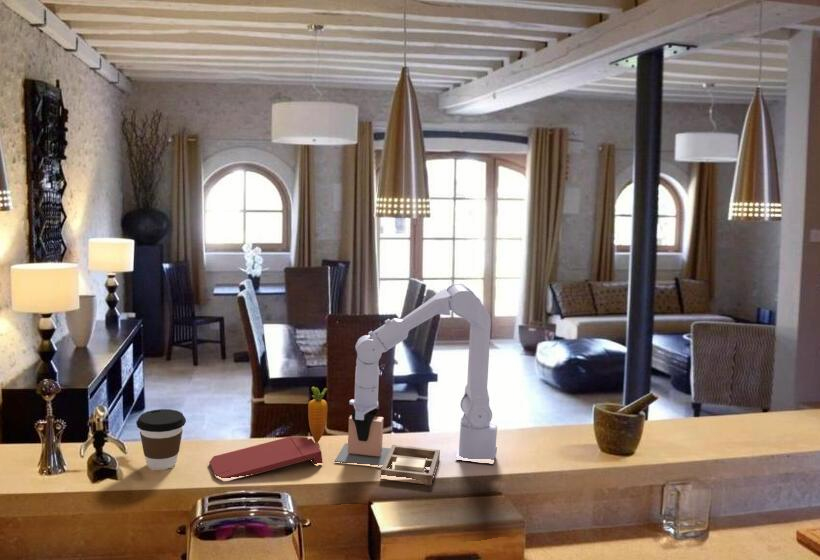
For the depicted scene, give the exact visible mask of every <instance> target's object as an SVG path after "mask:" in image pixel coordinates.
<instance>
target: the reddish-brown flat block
mask: <svg viewBox="0 0 820 560" xmlns="http://www.w3.org/2000/svg"><path fill="white" fill-rule="evenodd" d="M322 454H323V453H322V450H321V449H320V448H319V446H318V445H317V444H316V442H315V440H314V439H312V438H308V437H307V436H287V437H284V438H280V439H276V440H272V441H268V442H267V441H266V442H264V443H260V444H256V445H252V446H249V447H245V448H241V449H237V450H233V451H229V452H225V453H221V454H218V455H214V456H213V457H212V458H211V459H210V461H209V466H210V469H211V471H212V470H213V471H212V472H214V473H213V475H214V474H215V475H216V476H219V477H221V478H231V477H239V476H246V475H251V474H254V475H257V474H256V473H258V474H261V473H265V472H269V471H273V470H276V469H280V468H283V467H287V466H291V465H295V464H299V463H301V462H302V463H303V462H305V461H311V460H312V462H313V463H314V464H317V463H323V464H324V462H323V456H322ZM310 459H311V460H310ZM312 462H311V463H312ZM313 463H312V464H313ZM314 464H313V465H314ZM251 476H252V475H251Z"/></svg>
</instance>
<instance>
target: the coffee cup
mask: <svg viewBox="0 0 820 560" xmlns="http://www.w3.org/2000/svg"><path fill="white" fill-rule="evenodd" d="M186 423H187V419H186V418H185V416H184V414H183V412H181V411H179V410H176V409H171V408H169V409H167V408H160V409H152V410H149V411H145V412H143V413H141V414H140V415H139V417H138V418H137V420H136V422H135V425H136V427H137V428H138V429H139V430H140V431H139V435H140V440H141V445H142V452H143V455H144V458H145V463H146V466H147V467H148V468H149V469H150V470H151V469H153V470H152V471H156V470H162V471H165V470H164V469H168V468H171V467H172V468H174V467H175V466H176V463H177V461H178V455H179V452H180V448H181V442H182V436H183V427H184V426H185V424H186ZM173 466H174V467H173ZM172 468H171V469H172ZM168 470H169V469H168Z"/></svg>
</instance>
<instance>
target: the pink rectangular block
mask: <svg viewBox="0 0 820 560" xmlns="http://www.w3.org/2000/svg"><path fill="white" fill-rule="evenodd" d="M384 419H385V418H384V417H383V416H375V417H374V419H373V421H372V423H371V426H370V431H369V436H368V439H367V441H359V440H358V436H357V430H356V426H355V423H354V421H353V419H352V417H351V415H349V417H348V431H347V436H348V437H347V444H348V453H353V454H362V455H370V456H379V457H380V455H381V452H382V448H383V437H384V436H383V435H384Z"/></svg>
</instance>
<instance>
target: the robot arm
mask: <svg viewBox="0 0 820 560" xmlns="http://www.w3.org/2000/svg"><path fill="white" fill-rule="evenodd" d="M451 311H452V313H453V314H454V315H456V316H458V317H460V318H463V319H464V320H465V321H467V322H468V323H469V324H470V325H469V343H468V344H469V345H468V361H467V364H468V365H467V379H466V380H467V382H466V385H465V387H464V394H463V396H462V397H461V401H460V409H461V411H462V412H463V416H462V417H461V419H460V429H459V444H458V447H457V453H456V455H455V458H456V457H458V456H461V457H463V458H468V459H491V460H494V458H496V455H497V452H498V447H497V437H498V436H497V434H498V425H497V424H492V423H491V422H492V419H493V412H492V409H491V407H490V396H489V391H488V377H489V365H490V364H489V362H490V342H491V327H492V326H491V325H492V323H491V322H492V319H491V316H490V314H489V313H488V311H487V309H486V308H485V306H484V304H483V303H482V301H481V299H480V298H479V297H478V296H477V295H476V294H475V293H474V292H473V291H472V290H471V288H469V287H467V286H466V285H464V284H462V283H454V284H451V285H449V286H448V287H447V289H446V288H444V289H441V290H440V291H438V292H437V293H436V294H434V296H432V297H431V298H429V299H428V300H427V301H425V302H424V303H422V304H421V305H419V306H418V307H416V308H415V309H414V310H413V311H411V312H410V313H408V314H407V315H405V316H404V317H402V318H398V317H393V318H392V319H390V318H387V319H386V320H384V324H383V325H381V326H379V327H377V329H375V330H370V331H368V334H365V335H362V336H360V337H359V338H358V339H357V340H356V341H357V342H356V343H355V346H354V347H355V351H356V361H355V364H356V365H355V374H354V377H355V378H354V397H353V398H354V399H353V398H352V399H349V405H351V406H353V407H354V410H355V411H352V413H351V414H350V416H351V417H352V419H353V421H354V423H355V426H356V430H357V436H358V440H359V441H367V439H368V436H369V431H370V426H371V423H372V421H373V419H374V417H377V416H376V415H377V413H378V412H379V411H380V406H379V384H380V383H379V382H380V381H379V378H380V366H379V360H380V359H381V358H382V354H383V353H386V352H388V351H389V350H391V349H392V348H394V347H395V346H397V345H398V344H400V343H401V342H403V341H405V340H406V339H407V338H408V336H409V335H408V334H409V333H410V331H411V330H412V329H414V328H416V327H418V326H420V325H421V324H423V323H425V322H426V321H428V320H430V319H432V318H433V317H435V316H437V315H442V316H443V315H444V316H451V315H452V314H451ZM494 461H495V460H494Z"/></svg>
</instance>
